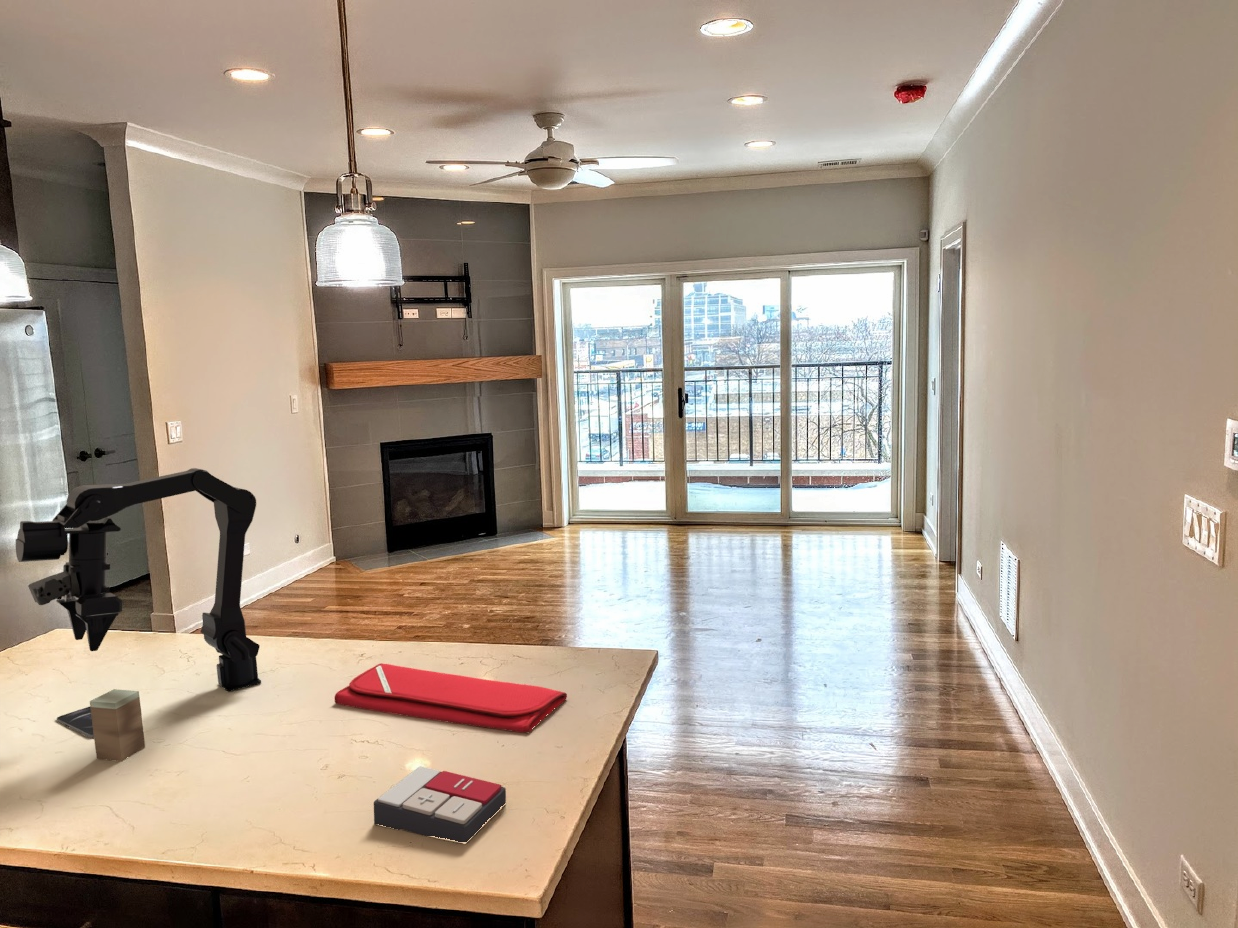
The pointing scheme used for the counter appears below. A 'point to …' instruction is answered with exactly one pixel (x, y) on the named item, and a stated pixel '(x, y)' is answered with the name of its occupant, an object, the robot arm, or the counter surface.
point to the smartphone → (79, 721)
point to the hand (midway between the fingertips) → (86, 645)
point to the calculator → (439, 804)
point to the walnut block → (117, 724)
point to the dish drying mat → (450, 697)
